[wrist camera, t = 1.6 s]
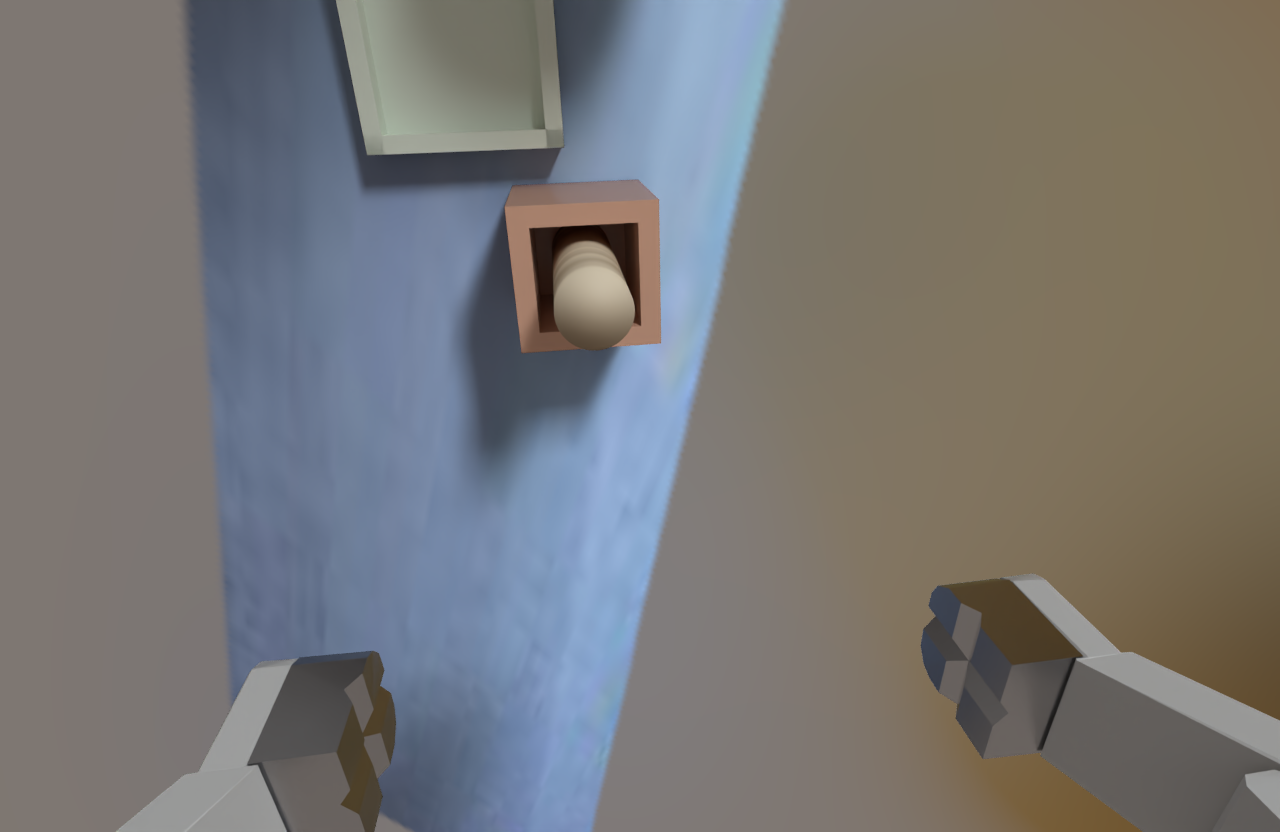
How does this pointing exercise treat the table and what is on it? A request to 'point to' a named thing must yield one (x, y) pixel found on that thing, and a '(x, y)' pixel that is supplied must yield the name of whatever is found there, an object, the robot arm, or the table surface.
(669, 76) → the table surface
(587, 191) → the brown hollow block
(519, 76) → the tray
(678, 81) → the table surface
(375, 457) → the table surface
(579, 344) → the dowel
